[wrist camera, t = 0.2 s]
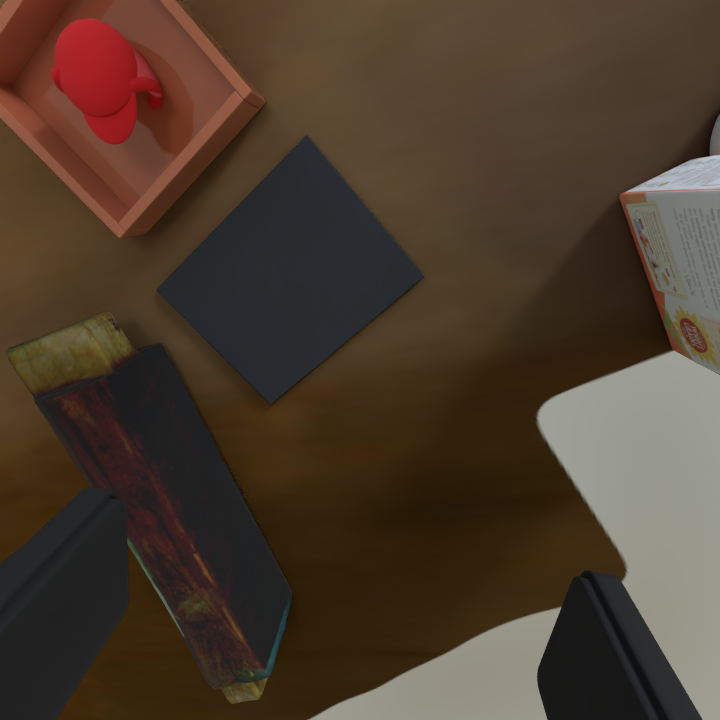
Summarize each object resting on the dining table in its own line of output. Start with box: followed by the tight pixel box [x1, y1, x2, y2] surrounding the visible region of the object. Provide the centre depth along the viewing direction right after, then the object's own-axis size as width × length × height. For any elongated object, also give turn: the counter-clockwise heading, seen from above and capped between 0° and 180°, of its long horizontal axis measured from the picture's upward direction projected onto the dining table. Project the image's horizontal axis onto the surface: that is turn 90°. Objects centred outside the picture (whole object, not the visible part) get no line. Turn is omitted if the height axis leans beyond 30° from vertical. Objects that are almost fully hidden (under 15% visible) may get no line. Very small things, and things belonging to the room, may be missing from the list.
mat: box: [157, 136, 424, 404], centre depth 39 cm, size 18×14×1 cm
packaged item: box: [6, 311, 292, 704], centre depth 42 cm, size 39×10×10 cm, turn 19°
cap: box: [50, 19, 163, 144], centre depth 32 cm, size 8×6×6 cm
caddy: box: [0, 0, 266, 238], centre depth 33 cm, size 15×15×4 cm
